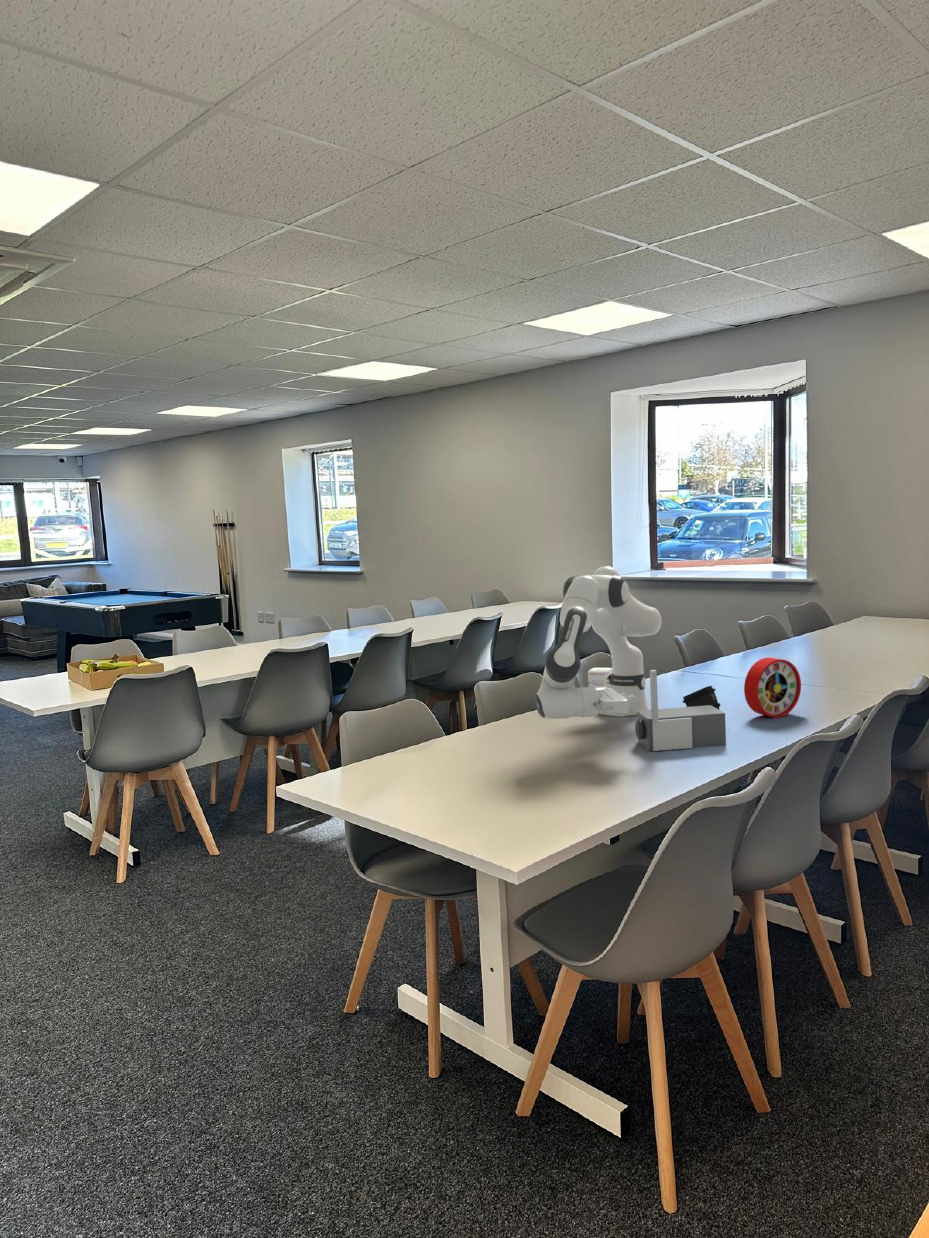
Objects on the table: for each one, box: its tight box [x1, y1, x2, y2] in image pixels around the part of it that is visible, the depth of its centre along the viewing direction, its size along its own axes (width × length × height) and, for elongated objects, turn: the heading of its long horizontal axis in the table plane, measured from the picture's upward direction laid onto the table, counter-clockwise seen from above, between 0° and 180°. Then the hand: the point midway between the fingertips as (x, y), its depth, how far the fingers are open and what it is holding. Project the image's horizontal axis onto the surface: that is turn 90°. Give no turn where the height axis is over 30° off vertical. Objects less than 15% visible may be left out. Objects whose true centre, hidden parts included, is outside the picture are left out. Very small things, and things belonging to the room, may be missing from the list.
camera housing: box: [634, 705, 727, 752], centre depth 264 cm, size 26×12×10 cm, turn 95°
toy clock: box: [743, 657, 802, 718], centre depth 292 cm, size 20×6×20 cm, turn 114°
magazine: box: [682, 685, 722, 711], centre depth 278 cm, size 4×13×15 cm, turn 37°
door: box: [649, 669, 693, 752], centre depth 256 cm, size 12×2×25 cm, turn 95°
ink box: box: [587, 667, 613, 688], centre depth 339 cm, size 8×8×12 cm
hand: (635, 698), depth 254 cm, fingers closed
